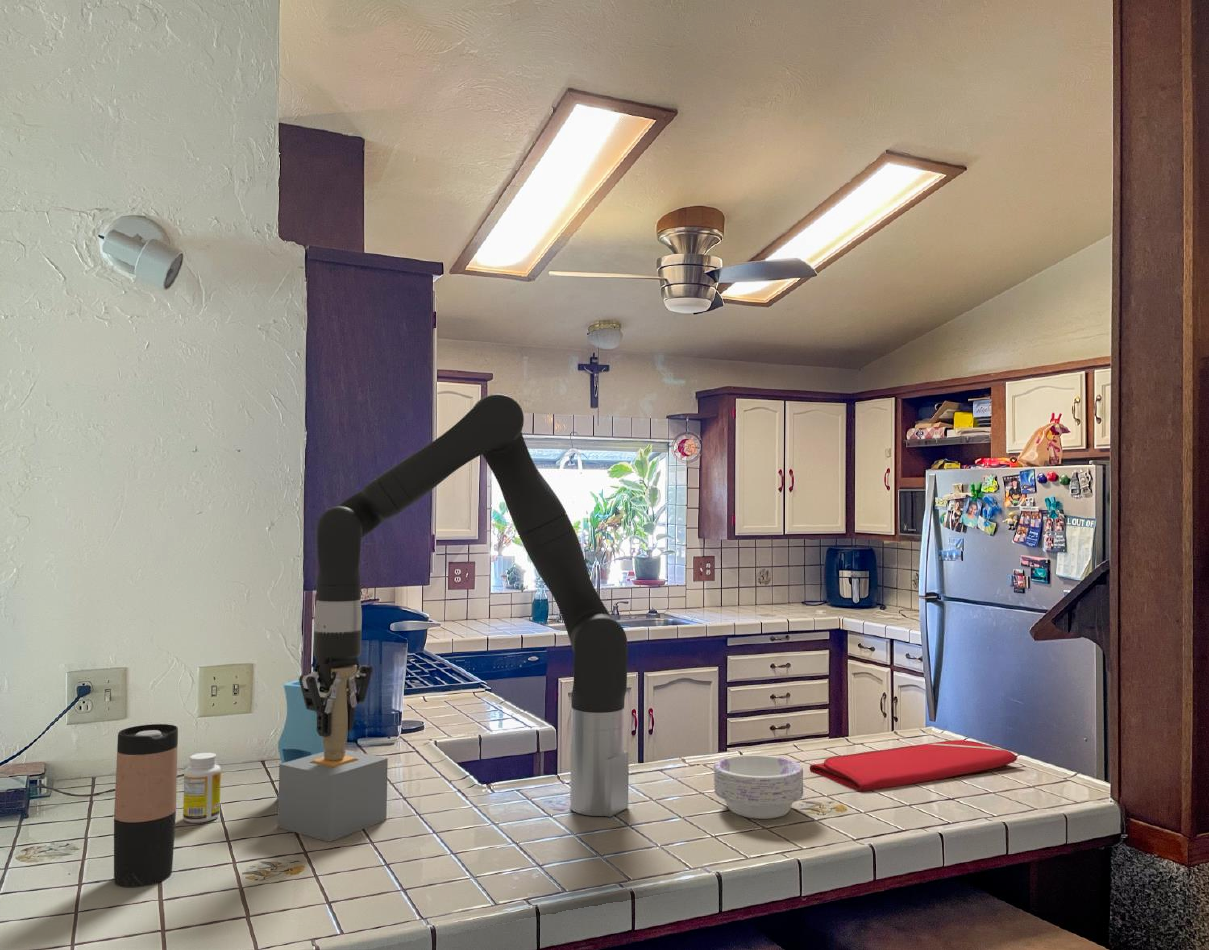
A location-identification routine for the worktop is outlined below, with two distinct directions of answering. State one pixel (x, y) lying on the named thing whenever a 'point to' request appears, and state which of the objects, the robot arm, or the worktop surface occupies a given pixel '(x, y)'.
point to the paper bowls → (758, 784)
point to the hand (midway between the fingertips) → (335, 732)
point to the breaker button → (334, 763)
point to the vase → (298, 727)
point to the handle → (339, 717)
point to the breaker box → (332, 795)
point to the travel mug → (145, 804)
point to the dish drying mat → (912, 764)
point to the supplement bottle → (202, 789)
